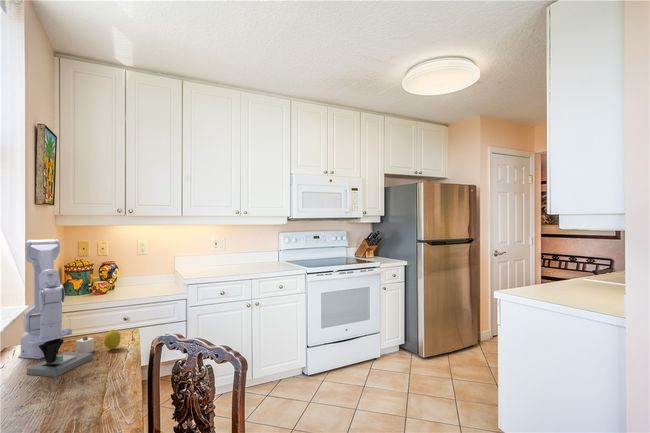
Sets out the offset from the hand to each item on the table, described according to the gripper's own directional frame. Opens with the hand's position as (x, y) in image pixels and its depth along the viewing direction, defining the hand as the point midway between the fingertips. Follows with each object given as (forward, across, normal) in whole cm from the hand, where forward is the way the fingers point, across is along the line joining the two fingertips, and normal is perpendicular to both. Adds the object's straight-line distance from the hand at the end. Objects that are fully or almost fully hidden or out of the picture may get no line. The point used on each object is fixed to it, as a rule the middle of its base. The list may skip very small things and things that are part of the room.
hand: (50, 362), depth 117 cm
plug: (+3, +17, +2) cm, 17 cm away
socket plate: (+3, +4, 0) cm, 5 cm away
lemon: (+3, +21, -6) cm, 22 cm away
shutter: (+1, +4, 0) cm, 4 cm away
